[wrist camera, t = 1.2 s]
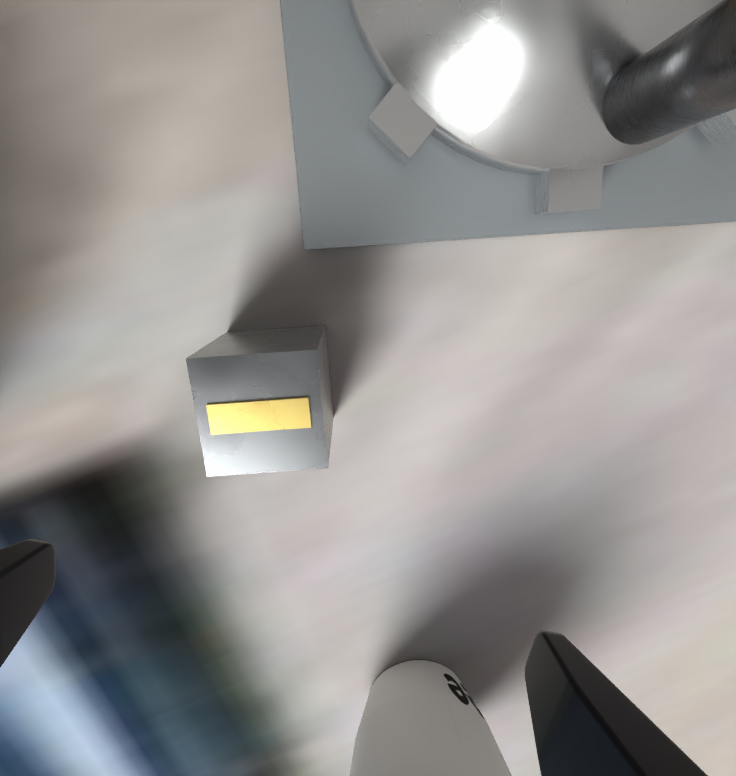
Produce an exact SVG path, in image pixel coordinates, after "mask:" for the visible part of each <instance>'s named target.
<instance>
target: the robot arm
mask: <svg viewBox="0 0 736 776" xmlns="http://www.w3.org/2000/svg"><path fill="white" fill-rule="evenodd" d="M54 584H55V548H54V546H53V544H51V543H49V542H45V541H39V540H33V539H29V540H25V541H22V542H19V543H17V544H14V545H11V546H9V547H6V548H3V549H0V667H1V666H2V664H3V663H4V661H5V660H6V658H7V657H8V656H9V654H10V653H11V651H12V650H13V648H14V647H15V645H16V644H17V642H18V641H19V639H20V638H21V636H22V635H23V634H24V632H25V631H26V629H27V628H28V626H29V625H30V623H31V622H32V620H33V619H34V617H35V616H36V614H37V613H38V612H39V610H40V609H41V607H42V606H43V604H44V603H45V601H46V600H47V598H48V597H49V595H50V594H51V592H52V590H53V587H54ZM525 681H526V687H527V693H528V699H529V705H530V711H531V718H532V724H533V730H534V736H535V742H536V748H537V754H538V760H539V765H540V771H541V775H542V776H708V775H706V774H705V773H704V772H703V771H702V770H701V769H700V768H699V767H698V766H697V765H696V764H695V763H694V762H693V761H692V760H691V759H690V758H689V757H688V756H687V755H686V754H685V753H684V752H683V751H682V750H681V749H680V748H679V747H678V746H677V745H676V744H675V743H674V742H673V741H672V740H671V739H669V738H668V737H667V736H666V735H665V734H664V733H663V732H662V731H661V730H660V729H659V728H658V727H657V726H656V725H655V724H654V723H653V722H652V721H651V720H650V719H649V718H648V717H647V716H646V715H645V714H644V713H643V712H642V711H641V710H640V709H639V708H638V707H637V706H636V705H635V704H633V703H632V702H631V701H630V700H629V699H628V698H627V697H626V696H625V695H624V694H623V693H622V692H621V691H620V690H619V689H618V688H617V687H616V686H615V685H614V684H613V683H612V682H611V681H610V680H609V679H608V678H607V677H606V676H605V675H604V674H603V673H602V672H601V671H600V670H599V669H598V668H596V667H595V666H594V665H593V664H592V663H591V662H590V661H589V660H588V659H587V658H586V657H585V656H584V655H583V654H582V653H581V652H580V651H579V650H578V649H577V648H576V647H575V646H574V645H573V644H572V643H571V642H570V641H569V640H568V639H567V638H566V637H564V636H563V635H562V634H559V633H554V632H549V631H539V632H538V633H537V635H536V637H535V639H534V642H533V645H532V648H531V651H530V653H529V656H528V659H527V662H526V666H525Z"/></svg>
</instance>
